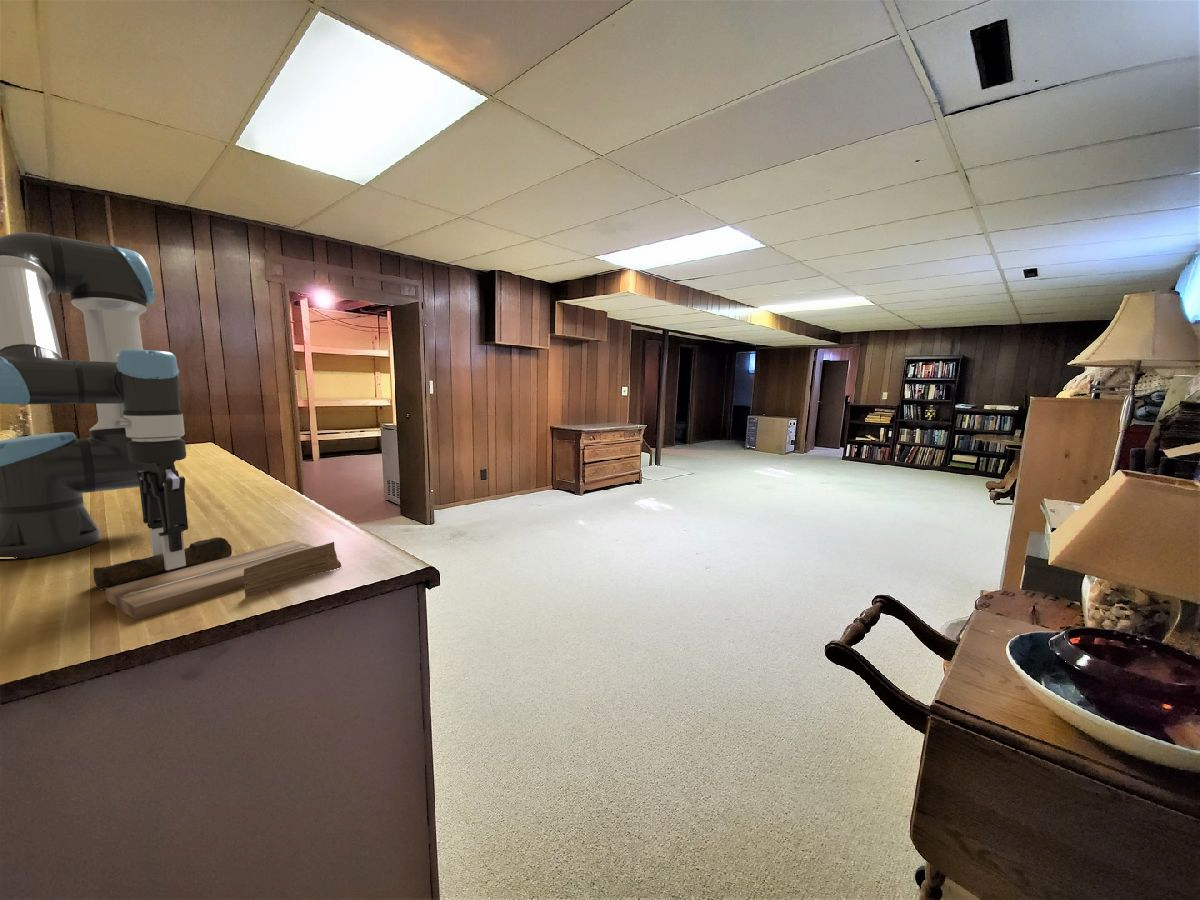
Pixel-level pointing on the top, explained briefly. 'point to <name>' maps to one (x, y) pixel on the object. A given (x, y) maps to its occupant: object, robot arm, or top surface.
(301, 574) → the wood plank
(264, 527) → the top surface
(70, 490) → the robot arm
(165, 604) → the board
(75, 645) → the top surface
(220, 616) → the top surface
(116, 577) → the dark brown rod
